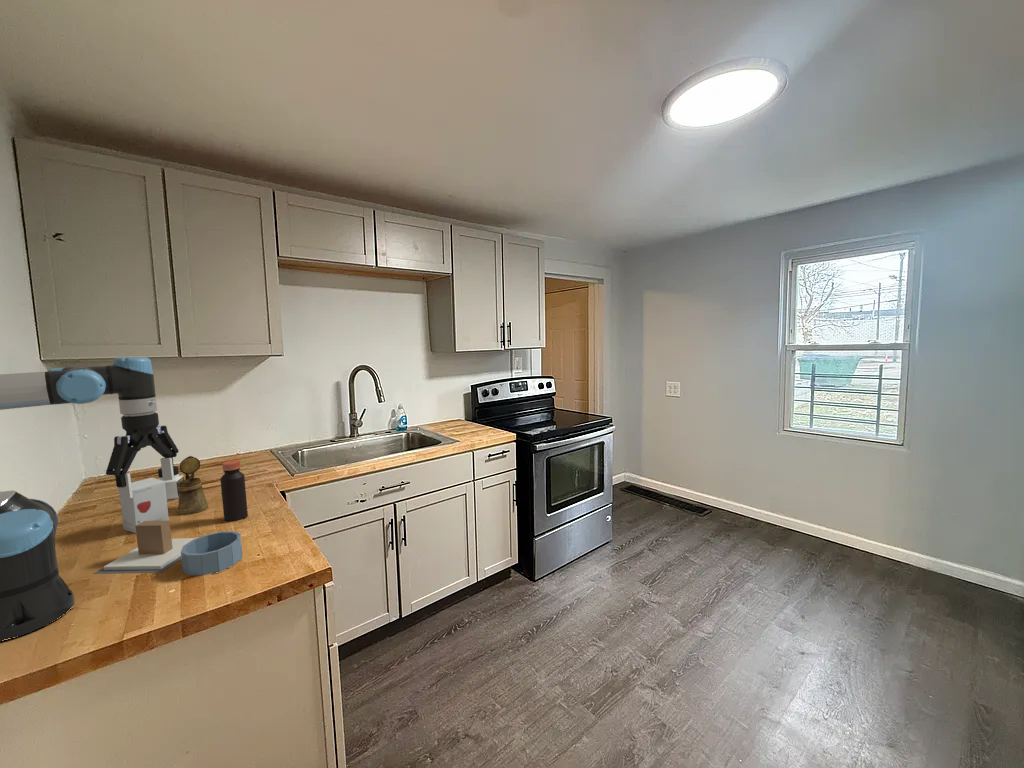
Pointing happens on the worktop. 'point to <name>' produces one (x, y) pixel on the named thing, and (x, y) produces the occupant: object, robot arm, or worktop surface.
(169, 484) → the medicine bottle
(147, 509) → the supplement box
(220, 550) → the bowl
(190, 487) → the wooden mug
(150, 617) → the worktop surface
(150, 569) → the mat
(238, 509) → the vinegar
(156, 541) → the lid
